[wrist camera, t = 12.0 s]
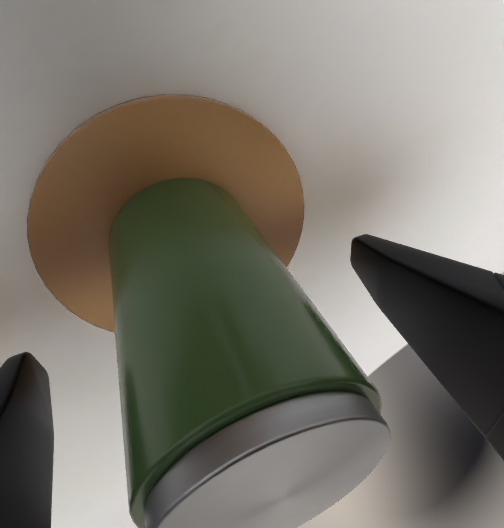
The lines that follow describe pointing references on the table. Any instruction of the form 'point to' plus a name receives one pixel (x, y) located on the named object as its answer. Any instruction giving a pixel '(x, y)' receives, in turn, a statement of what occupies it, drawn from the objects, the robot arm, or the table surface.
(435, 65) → the table surface
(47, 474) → the robot arm
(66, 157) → the coaster
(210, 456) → the can
